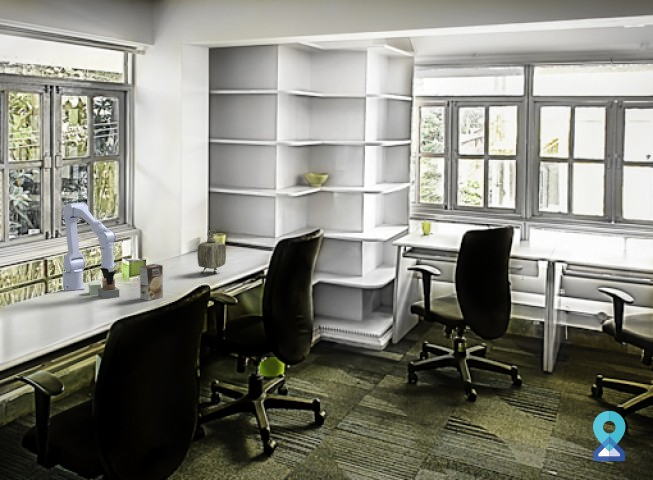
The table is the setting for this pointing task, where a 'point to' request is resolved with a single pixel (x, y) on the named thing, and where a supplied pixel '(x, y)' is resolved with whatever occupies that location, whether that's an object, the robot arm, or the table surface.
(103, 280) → the walnut cube
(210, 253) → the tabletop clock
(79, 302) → the table surface
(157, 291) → the coffee box
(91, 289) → the sage cube
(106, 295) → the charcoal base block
